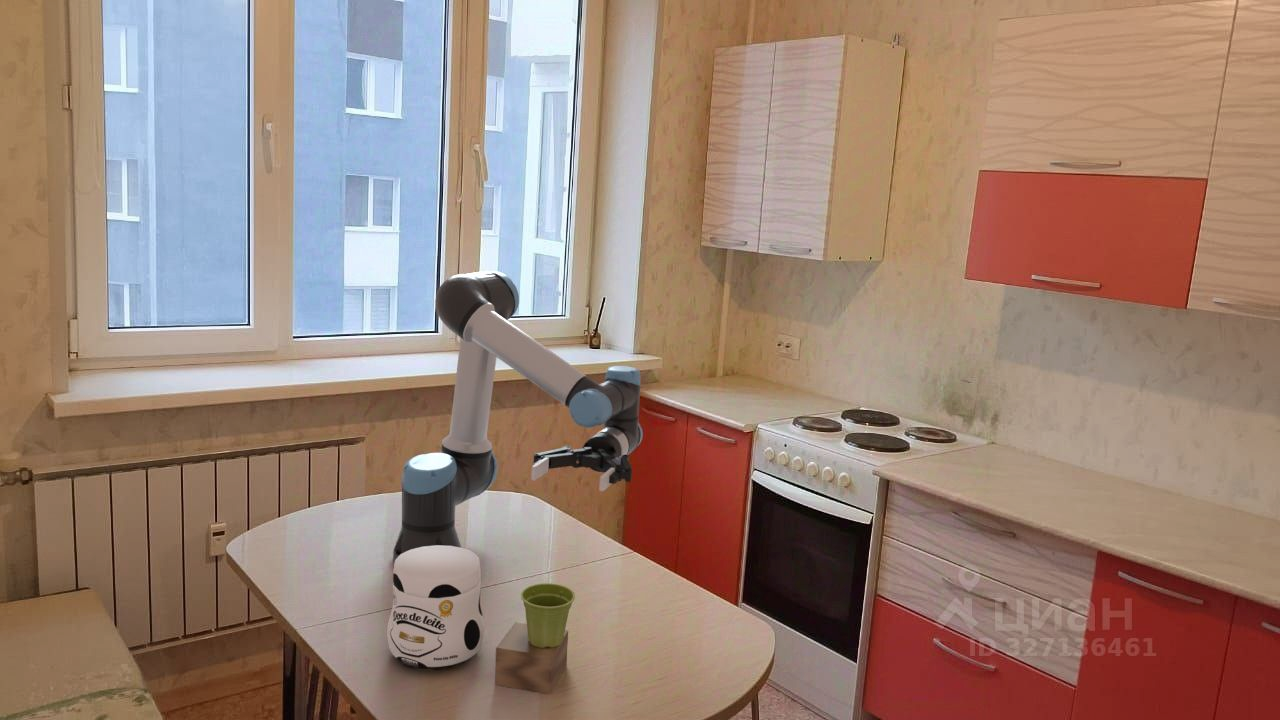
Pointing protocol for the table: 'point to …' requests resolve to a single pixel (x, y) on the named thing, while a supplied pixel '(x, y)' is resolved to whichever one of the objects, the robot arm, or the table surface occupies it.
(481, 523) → the table surface
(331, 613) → the table surface
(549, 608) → the plant pot
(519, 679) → the walnut block
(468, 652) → the milk container
